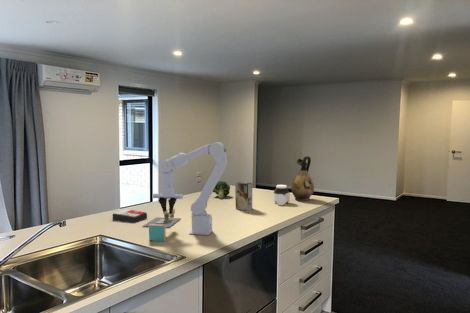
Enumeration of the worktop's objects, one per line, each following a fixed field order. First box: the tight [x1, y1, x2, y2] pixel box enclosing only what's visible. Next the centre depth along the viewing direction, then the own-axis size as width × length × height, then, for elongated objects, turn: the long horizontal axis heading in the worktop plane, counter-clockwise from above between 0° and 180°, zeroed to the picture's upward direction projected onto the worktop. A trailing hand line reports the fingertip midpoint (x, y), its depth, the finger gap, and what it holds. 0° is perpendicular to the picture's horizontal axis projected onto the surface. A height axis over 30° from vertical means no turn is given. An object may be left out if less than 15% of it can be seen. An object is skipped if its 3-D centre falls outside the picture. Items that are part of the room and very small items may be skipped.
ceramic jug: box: [290, 155, 315, 202], centre depth 251 cm, size 17×15×30 cm
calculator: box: [112, 209, 148, 223], centre depth 201 cm, size 11×4×15 cm
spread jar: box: [273, 184, 291, 206], centre depth 238 cm, size 12×11×12 cm
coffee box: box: [234, 181, 253, 211], centre depth 224 cm, size 9×6×16 cm
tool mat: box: [142, 216, 182, 229], centre depth 191 cm, size 14×18×1 cm
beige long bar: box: [156, 207, 176, 224], centre depth 173 cm, size 14×6×4 cm, turn 170°
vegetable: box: [212, 180, 231, 199], centre depth 264 cm, size 12×13×15 cm
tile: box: [148, 224, 167, 242], centre depth 161 cm, size 7×2×7 cm, turn 80°
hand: (167, 213), depth 174 cm, fingers closed on beige long bar, 2 cm apart
